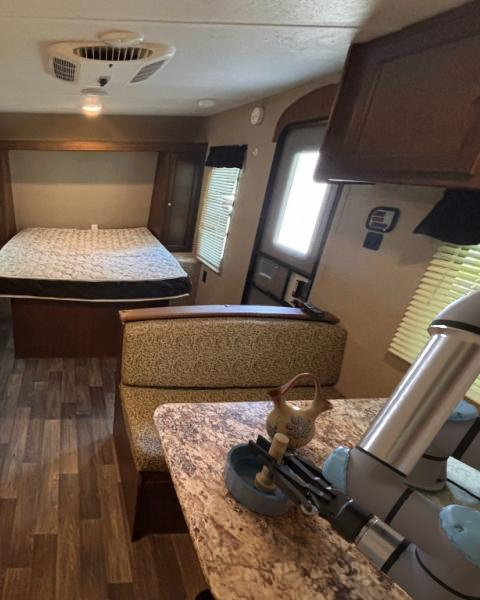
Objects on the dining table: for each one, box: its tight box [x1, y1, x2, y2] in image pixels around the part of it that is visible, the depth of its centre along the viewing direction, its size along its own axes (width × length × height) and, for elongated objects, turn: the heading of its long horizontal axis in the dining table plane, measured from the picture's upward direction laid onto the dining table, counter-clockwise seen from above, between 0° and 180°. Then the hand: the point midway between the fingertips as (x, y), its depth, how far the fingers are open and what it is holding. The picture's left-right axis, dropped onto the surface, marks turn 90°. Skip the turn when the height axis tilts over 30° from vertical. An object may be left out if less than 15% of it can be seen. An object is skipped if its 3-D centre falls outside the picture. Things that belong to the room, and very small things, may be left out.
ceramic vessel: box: [265, 372, 335, 450], centre depth 89 cm, size 16×9×25 cm, turn 74°
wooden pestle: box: [254, 433, 289, 494], centre depth 75 cm, size 4×4×16 cm
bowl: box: [222, 442, 298, 517], centre depth 79 cm, size 16×16×6 cm
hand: (253, 441), depth 79 cm, fingers closed on wooden pestle, 3 cm apart
